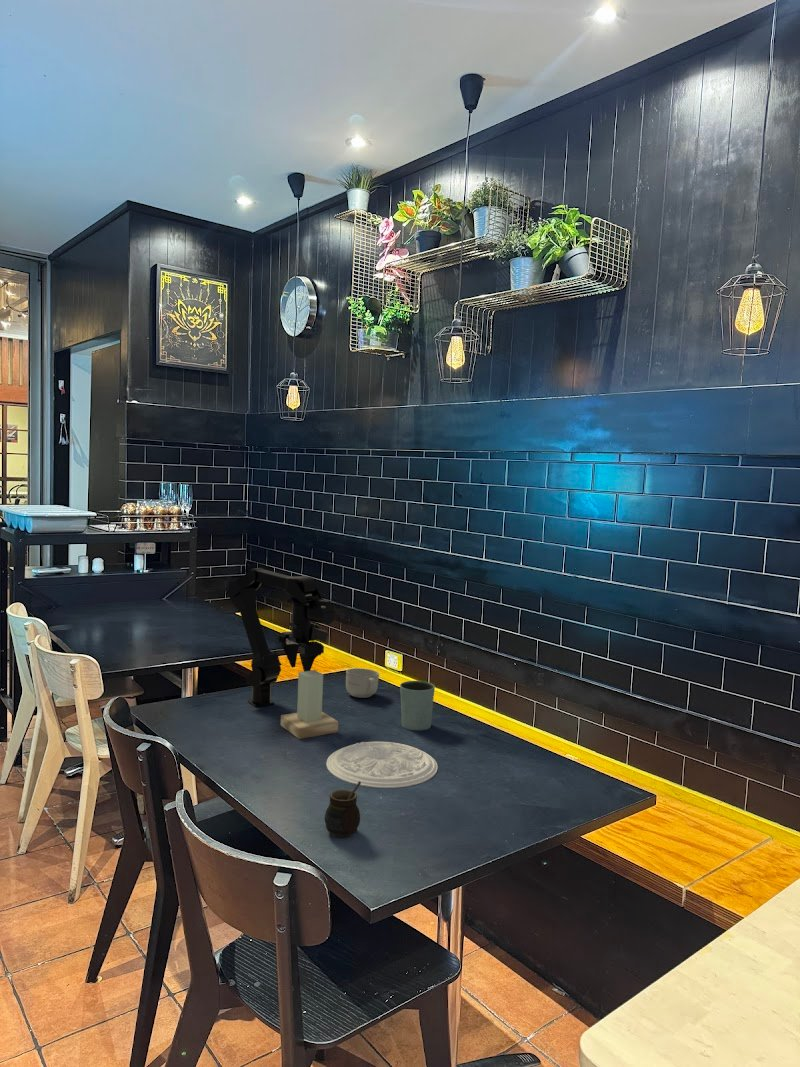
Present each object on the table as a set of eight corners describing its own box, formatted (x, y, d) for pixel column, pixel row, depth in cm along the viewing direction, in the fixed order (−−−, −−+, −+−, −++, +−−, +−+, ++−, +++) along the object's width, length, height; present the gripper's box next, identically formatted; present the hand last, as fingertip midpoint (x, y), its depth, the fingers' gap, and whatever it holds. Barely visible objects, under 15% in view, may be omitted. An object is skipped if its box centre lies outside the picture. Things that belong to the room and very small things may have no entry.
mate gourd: (316, 831, 155) (318, 783, 154) (344, 820, 161) (346, 774, 160) (339, 844, 150) (341, 796, 149) (367, 832, 155) (369, 785, 155)
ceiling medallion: (427, 796, 175) (428, 783, 175) (311, 781, 180) (312, 768, 180) (444, 752, 202) (445, 741, 202) (343, 740, 208) (344, 729, 207)
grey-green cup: (433, 732, 216) (435, 691, 215) (397, 730, 216) (399, 689, 215) (432, 720, 226) (434, 681, 225) (398, 718, 226) (400, 679, 225)
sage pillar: (297, 717, 214) (298, 672, 213) (312, 714, 217) (313, 670, 216) (306, 722, 210) (307, 676, 209) (321, 719, 214) (323, 674, 212)
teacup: (341, 691, 251) (342, 667, 250) (373, 689, 254) (374, 666, 254) (351, 704, 238) (352, 679, 237) (385, 702, 241) (386, 678, 240)
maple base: (280, 725, 216) (280, 715, 216) (318, 719, 222) (318, 709, 222) (299, 739, 206) (299, 728, 206) (337, 732, 213) (338, 721, 212)
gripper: (340, 623, 221) (338, 676, 222) (311, 611, 236) (310, 660, 238) (306, 626, 215) (304, 680, 216) (278, 614, 230) (277, 664, 232)
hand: (299, 671), depth 225 cm, fingers open, 9 cm apart
